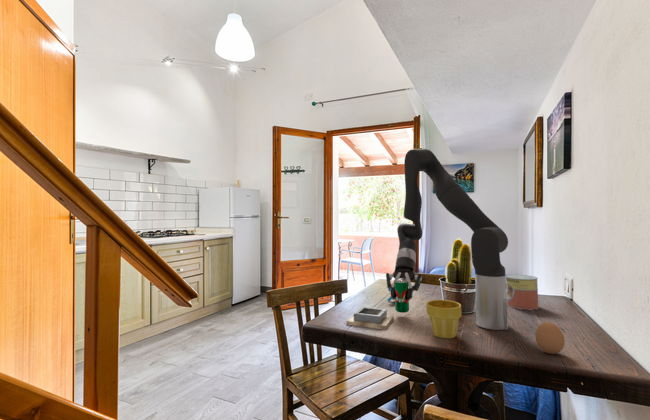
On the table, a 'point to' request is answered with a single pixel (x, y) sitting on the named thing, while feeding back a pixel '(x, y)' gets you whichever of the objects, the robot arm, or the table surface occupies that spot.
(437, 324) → the plant pot
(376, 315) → the collar
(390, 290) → the blue knobbly figurine
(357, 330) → the table surface
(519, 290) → the canned food
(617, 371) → the table surface
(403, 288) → the soda can
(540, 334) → the egg
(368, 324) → the board
